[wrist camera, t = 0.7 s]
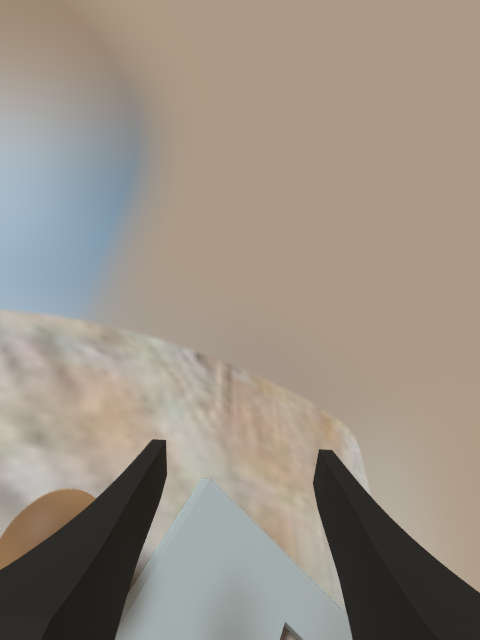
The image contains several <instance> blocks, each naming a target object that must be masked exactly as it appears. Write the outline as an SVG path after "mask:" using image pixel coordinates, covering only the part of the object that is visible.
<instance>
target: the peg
mask: <svg viewBox="0 0 480 640" xmlns="http://www.w3.org/2000/svg"><path fill="white" fill-rule="evenodd" d="M94 500H95V498H94V497H93V496H92V495H90V494H88V493H87V492H84V491H81V490H78V489H70V488H66V489H59V490H55V491H52V492H49V493H47V494H45V495H43V496H41V497H39V498H38V499H36V500H35V501H33V502H32V503H30V504H29V505H28V506H27V507H26V508H25V509H24V510H23V511H22V512H21V513H20V514H19V515H18V516H17V517H16V518H15V519H14V520H13V521H12V522H11V524H10V525H9V526H8V528H7V529H6V531H5V532H4V534H3V535H2V537H1V539H0V570H1V569H2V568H4V567H6V566H7V565H9V564H10V563H12V562H14V561H15V560H17V559H18V558H20V557H21V556H23V555H24V554H26V553H27V552H28V551H30V550H31V549H33V548H34V547H36V546H37V545H38V544H40V543H41V542H43V541H44V540H46V539H47V538H48V537H50V536H51V535H52V534H54V533H55V532H56V531H58V530H59V529H60V528H62V527H63V526H64V525H65V524H67V523H68V522H69V521H70V520H72V519H73V518H74V517H75V516H77V515H78V514H79V513H80V512H81V511H83V510H84V509H85V508H86V507H87V506H88V505H90V504H91V503H92V502H93V501H94Z"/></svg>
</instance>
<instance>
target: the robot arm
mask: <svg viewBox="0 0 480 640" xmlns="http://www.w3.org/2000/svg"><path fill="white" fill-rule="evenodd" d="M166 476H167V460H166V440H154V439H153V440H152V441H151V442H150V443H149V444H148V445H147V446H146V447H145V449H144V450H143V451H142V452H141V453H140V454H139V455H138V457H137V458H136V459H135V460H134V461H133V462H132V463H131V464H130V465H129V466H128V468H127V469H126V470H125V471H124V472H123V473H122V474H121V475H120V476H119V477H118V478H117V479H116V480H115V481H114V482H113V483H112V484H111V485H110V486H109V487H108V488H107V489H106V490H105V491H104V492H103V493H102V494H101V495H100V496H98V497H97V498H96V499H95V500H94V501H93V502H92V503H91V504H90V505H88V506H87V507H86V508H85V509H84V510H83V511H81V512H80V513H79V514H78V515H77V516H75V517H74V518H73V519H72V520H70V521H69V522H68V523H67V524H65V525H64V526H63V527H62V528H60V529H59V530H58V531H56V532H55V533H54V534H52V535H51V536H50V537H48V538H47V539H46V540H44V541H43V542H41V543H40V544H38V545H37V546H36V547H34V548H33V549H31V550H30V551H28V552H27V553H26V554H24V555H23V556H21V557H20V558H18V559H17V560H15V561H14V562H12V563H10V564H9V565H7V566H6V567H4V568H2V569H1V570H0V640H115V637H116V634H117V630H118V627H119V623H120V619H121V616H122V612H123V609H124V605H125V601H126V598H127V594H128V591H129V588H130V584H131V581H132V577H133V574H134V570H135V567H136V564H137V561H138V558H139V556H140V553H141V550H142V548H143V545H144V542H145V539H146V537H147V534H148V531H149V529H150V526H151V523H152V521H153V518H154V515H155V513H156V510H157V507H158V505H159V502H160V499H161V495H162V492H163V488H164V484H165V480H166ZM313 486H314V491H315V497H316V502H317V507H318V510H319V514H320V517H321V520H322V524H323V527H324V530H325V534H326V537H327V540H328V543H329V547H330V550H331V553H332V556H333V559H334V563H335V566H336V569H337V573H338V577H339V580H340V584H341V589H342V593H343V598H344V602H345V606H346V611H347V615H348V620H349V625H350V630H351V634H352V639H353V640H480V593H479V592H478V591H476V590H475V589H474V588H472V587H471V586H470V585H468V584H467V583H466V582H464V581H463V580H462V579H461V578H459V577H458V576H457V575H455V574H454V573H453V572H452V571H450V570H449V569H448V568H447V567H445V566H444V565H443V564H442V563H440V562H439V561H438V560H436V558H434V557H433V556H432V555H431V554H430V553H428V552H427V551H426V550H425V549H424V548H423V547H421V546H420V545H419V544H418V543H417V542H416V541H415V540H414V539H412V538H411V537H410V536H409V535H408V534H407V533H406V532H405V531H404V530H403V529H402V528H401V527H400V526H399V525H398V524H397V523H395V522H394V521H393V520H392V519H391V518H390V517H389V516H388V515H387V513H386V512H385V511H384V510H383V509H382V508H381V507H380V506H379V505H378V504H377V503H376V502H375V501H374V500H373V499H372V497H371V496H370V495H369V494H368V493H367V492H366V491H365V489H364V488H363V487H362V486H361V485H360V484H359V482H358V481H357V480H356V479H355V478H354V476H353V475H352V474H351V473H350V472H349V470H348V469H347V468H346V467H345V465H344V464H343V463H342V462H341V460H340V459H339V458H338V457H337V456H336V454H335V453H334V452H333V451H332V450H321V449H319V453H318V458H317V464H316V469H315V475H314V481H313Z"/></svg>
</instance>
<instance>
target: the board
mask: <svg viewBox="0 0 480 640" xmlns="http://www.w3.org/2000/svg"><path fill="white" fill-rule="evenodd" d="M283 627H285V628H286V629H287V630H288V631H289V632H290V633H291V634H292V635H293V636H294V637H295V638H296V639H297V640H353V639H352V634H351V630H350V625H349V620H348V615H347V614H346V613H345V612H344V611H343V610H342V609H341V608H340V607H339V606H338V605H337V604H336V603H335V602H334V601H333V600H332V599H331V598H330V597H329V596H328V595H327V594H326V593H325V592H324V591H323V590H322V589H321V588H320V587H319V586H318V585H317V584H316V583H315V582H314V581H313V580H312V579H311V578H310V577H309V576H308V575H307V574H306V573H305V572H304V571H303V570H302V569H301V568H300V567H299V566H298V565H297V564H296V563H295V562H294V561H293V560H292V559H291V558H290V557H289V556H288V555H287V554H286V553H285V552H284V551H283V550H282V549H281V548H280V547H279V546H278V545H277V544H276V543H275V542H274V541H273V540H272V539H271V538H270V537H269V536H268V535H267V534H266V533H265V532H264V531H263V530H262V529H261V528H260V527H259V526H258V525H257V524H256V523H255V522H254V521H253V520H252V519H251V518H250V517H249V516H248V515H247V514H246V513H245V512H244V511H243V510H242V509H241V508H240V507H239V506H238V505H237V504H236V503H235V502H234V501H233V500H232V499H231V498H230V497H229V496H228V495H227V494H226V493H225V492H224V491H223V490H222V489H221V488H220V487H219V486H218V485H217V484H216V483H215V482H214V481H213V480H212V479H211V478H206V479H201V480H200V482H199V483H198V485H197V486H196V488H195V490H194V491H193V493H192V494H191V496H190V497H189V499H188V500H187V502H186V504H185V505H184V507H183V508H182V510H181V511H180V513H179V514H178V516H177V518H176V519H175V521H174V522H173V524H172V525H171V527H170V529H169V530H168V532H167V533H166V535H165V536H164V538H163V539H162V541H161V543H160V544H159V546H158V547H157V549H156V550H155V552H154V553H153V555H152V557H151V558H150V560H149V561H148V563H147V564H146V566H145V568H144V569H143V571H142V572H141V574H140V575H139V577H138V578H137V580H136V582H135V583H134V585H133V586H132V588H131V589H130V591H129V593H128V594H127V598H126V601H125V605H124V609H123V612H122V616H121V619H120V623H119V627H118V630H117V634H116V637H115V640H280V638H281V634H282V631H283Z"/></svg>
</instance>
